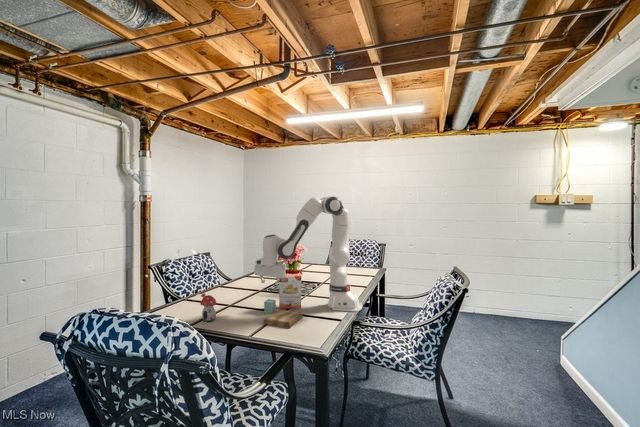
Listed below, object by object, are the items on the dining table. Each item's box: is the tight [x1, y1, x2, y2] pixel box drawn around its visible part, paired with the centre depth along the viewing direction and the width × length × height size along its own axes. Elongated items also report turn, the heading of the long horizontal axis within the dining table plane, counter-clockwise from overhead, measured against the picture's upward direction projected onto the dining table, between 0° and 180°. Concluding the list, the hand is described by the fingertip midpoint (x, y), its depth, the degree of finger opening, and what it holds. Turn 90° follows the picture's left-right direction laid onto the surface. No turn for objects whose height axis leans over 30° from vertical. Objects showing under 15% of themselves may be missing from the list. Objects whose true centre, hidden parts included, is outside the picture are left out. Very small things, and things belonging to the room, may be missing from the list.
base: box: [263, 309, 303, 329], centre depth 171 cm, size 16×16×3 cm
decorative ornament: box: [199, 293, 217, 323], centre depth 171 cm, size 9×6×15 cm
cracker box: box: [278, 273, 302, 310], centre depth 192 cm, size 14×6×21 cm, turn 94°
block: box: [263, 298, 277, 315], centre depth 184 cm, size 5×5×7 cm
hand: (269, 283), depth 183 cm, fingers open, 8 cm apart
